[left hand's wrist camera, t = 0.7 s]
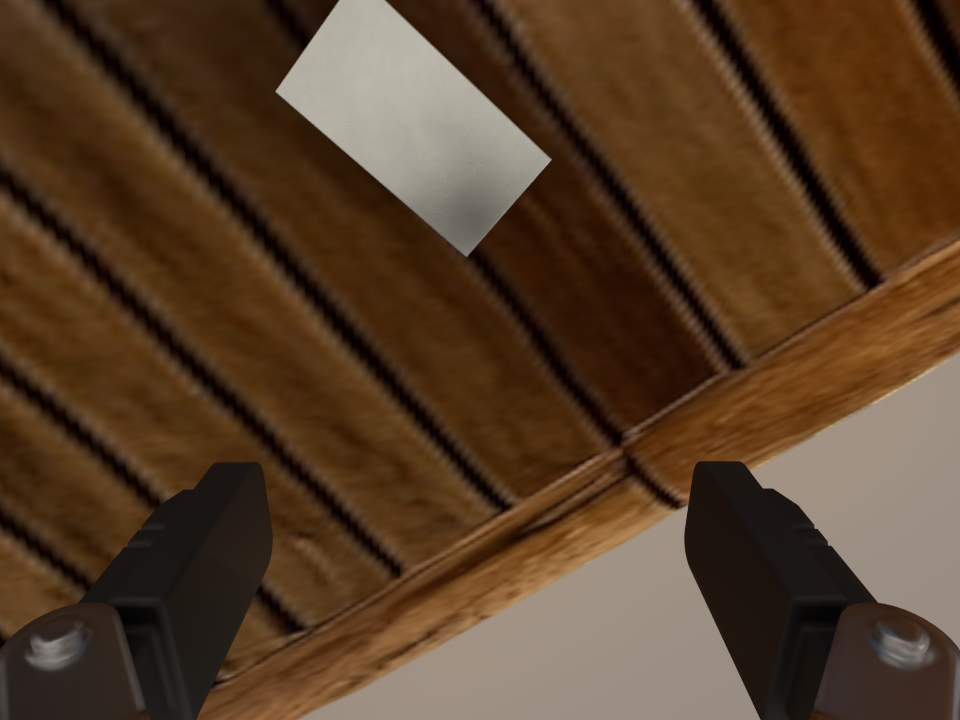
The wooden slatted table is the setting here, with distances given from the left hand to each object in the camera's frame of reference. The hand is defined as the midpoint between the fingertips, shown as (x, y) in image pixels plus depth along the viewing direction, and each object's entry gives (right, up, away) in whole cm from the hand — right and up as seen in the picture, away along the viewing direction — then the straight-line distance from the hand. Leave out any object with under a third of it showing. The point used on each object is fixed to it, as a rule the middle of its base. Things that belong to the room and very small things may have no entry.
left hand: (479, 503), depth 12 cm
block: (-2, +15, +20) cm, 25 cm away
